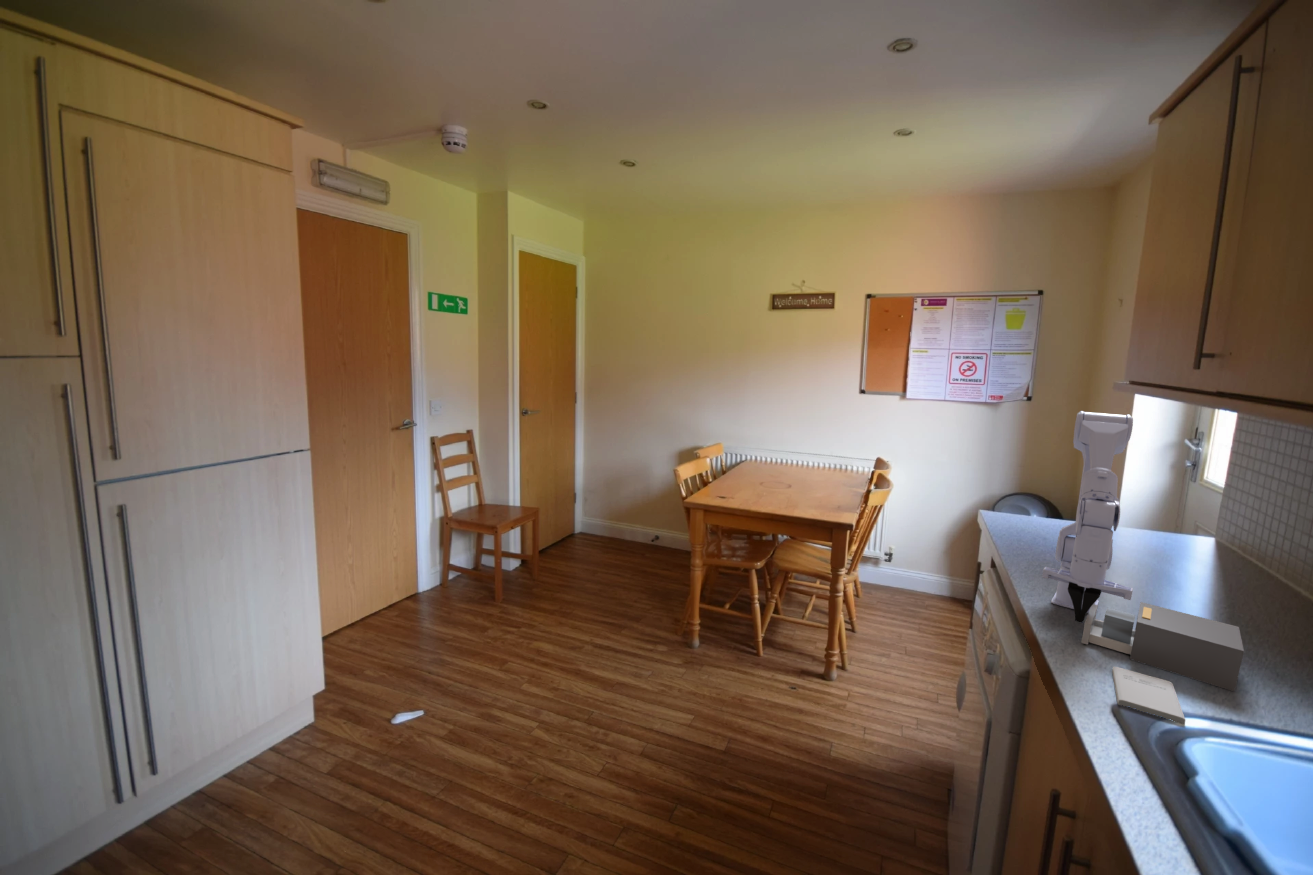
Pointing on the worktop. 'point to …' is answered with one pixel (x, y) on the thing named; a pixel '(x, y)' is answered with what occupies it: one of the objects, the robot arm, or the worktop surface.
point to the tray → (1095, 630)
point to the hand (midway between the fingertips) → (1079, 620)
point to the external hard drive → (1147, 694)
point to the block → (1118, 625)
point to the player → (1188, 645)
